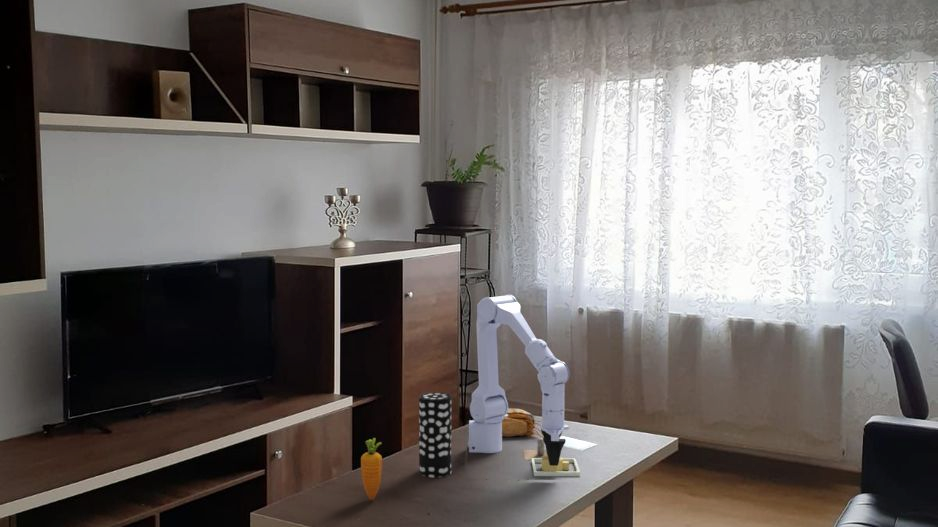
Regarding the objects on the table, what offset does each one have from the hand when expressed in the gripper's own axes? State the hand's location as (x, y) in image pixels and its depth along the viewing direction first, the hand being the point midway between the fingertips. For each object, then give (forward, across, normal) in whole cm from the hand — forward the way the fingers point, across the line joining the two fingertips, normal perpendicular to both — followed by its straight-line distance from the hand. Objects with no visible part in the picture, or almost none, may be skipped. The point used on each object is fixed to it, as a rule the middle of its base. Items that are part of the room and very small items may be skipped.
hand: (552, 460), depth 240 cm
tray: (+3, 0, -1) cm, 3 cm away
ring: (+2, 0, 0) cm, 2 cm away
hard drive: (+4, +23, -8) cm, 24 cm away
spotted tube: (+3, -1, +30) cm, 30 cm away
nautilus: (+3, +32, +9) cm, 33 cm away
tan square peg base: (+3, +12, +2) cm, 13 cm away
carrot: (+3, -22, +44) cm, 50 cm away
